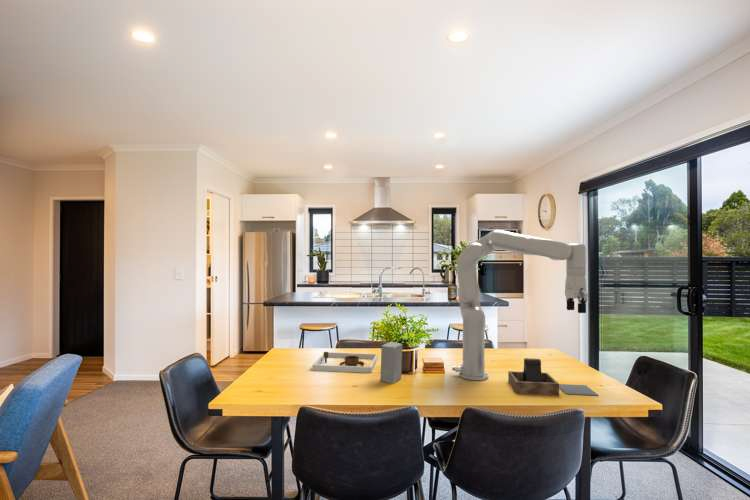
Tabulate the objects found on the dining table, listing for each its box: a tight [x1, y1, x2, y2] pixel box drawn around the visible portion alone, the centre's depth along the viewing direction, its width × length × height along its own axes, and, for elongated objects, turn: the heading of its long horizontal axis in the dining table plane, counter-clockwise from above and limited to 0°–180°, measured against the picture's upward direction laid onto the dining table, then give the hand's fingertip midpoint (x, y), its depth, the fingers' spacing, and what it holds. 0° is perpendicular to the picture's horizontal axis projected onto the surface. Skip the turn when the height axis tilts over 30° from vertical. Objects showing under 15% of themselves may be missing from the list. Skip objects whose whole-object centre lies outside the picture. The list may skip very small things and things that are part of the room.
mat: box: [559, 383, 599, 397], centre depth 161 cm, size 12×12×1 cm
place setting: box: [323, 351, 366, 367], centre depth 198 cm, size 18×20×6 cm
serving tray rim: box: [312, 351, 379, 374], centre depth 197 cm, size 28×26×2 cm
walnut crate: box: [507, 370, 560, 396], centre depth 163 cm, size 16×15×4 cm
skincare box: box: [380, 341, 403, 385], centre depth 172 cm, size 8×7×16 cm
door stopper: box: [522, 357, 543, 382], centre depth 163 cm, size 9×6×12 cm, turn 172°
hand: (576, 311), depth 173 cm, fingers open, 9 cm apart
